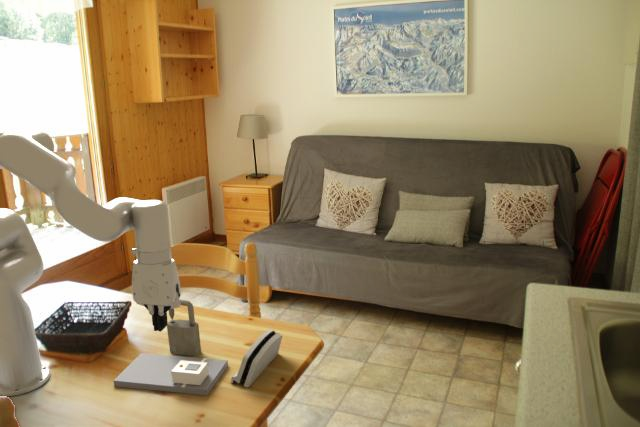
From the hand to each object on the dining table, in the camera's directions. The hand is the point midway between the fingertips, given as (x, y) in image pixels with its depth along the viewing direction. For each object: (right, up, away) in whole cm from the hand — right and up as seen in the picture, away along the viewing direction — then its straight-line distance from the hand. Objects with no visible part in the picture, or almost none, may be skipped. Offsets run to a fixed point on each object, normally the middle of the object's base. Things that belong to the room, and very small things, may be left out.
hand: (160, 328), depth 130 cm
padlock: (+1, -10, +18) cm, 21 cm away
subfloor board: (+1, -13, +7) cm, 15 cm away
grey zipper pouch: (+22, -12, +9) cm, 27 cm away
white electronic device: (+7, -12, +2) cm, 14 cm away
